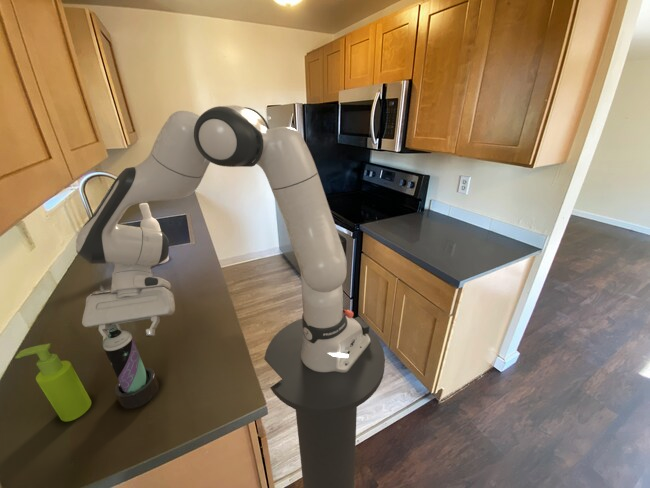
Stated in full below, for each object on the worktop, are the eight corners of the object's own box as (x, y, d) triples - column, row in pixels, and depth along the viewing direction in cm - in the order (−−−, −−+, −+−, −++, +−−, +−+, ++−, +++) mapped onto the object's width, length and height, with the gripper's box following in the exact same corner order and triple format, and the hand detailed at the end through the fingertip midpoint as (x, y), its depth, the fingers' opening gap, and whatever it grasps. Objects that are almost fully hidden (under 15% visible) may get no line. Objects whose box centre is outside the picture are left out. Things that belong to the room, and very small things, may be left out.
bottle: (153, 259, 142) (135, 202, 130) (170, 256, 144) (154, 200, 132) (150, 265, 135) (131, 206, 123) (168, 263, 138) (151, 204, 125)
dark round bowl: (154, 374, 76) (149, 362, 74) (162, 394, 70) (157, 381, 69) (118, 392, 71) (112, 380, 69) (123, 416, 65) (117, 403, 63)
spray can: (121, 401, 68) (91, 339, 60) (134, 382, 73) (108, 322, 65) (144, 400, 68) (117, 337, 60) (155, 381, 73) (132, 321, 65)
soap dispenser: (61, 404, 68) (23, 343, 60) (95, 395, 70) (62, 334, 62) (50, 427, 63) (7, 363, 55) (86, 416, 65) (50, 353, 57)
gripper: (79, 289, 68) (72, 348, 64) (168, 277, 73) (168, 331, 68) (94, 294, 74) (89, 348, 70) (176, 283, 79) (177, 333, 74)
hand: (129, 339), depth 69 cm, fingers open, 8 cm apart
